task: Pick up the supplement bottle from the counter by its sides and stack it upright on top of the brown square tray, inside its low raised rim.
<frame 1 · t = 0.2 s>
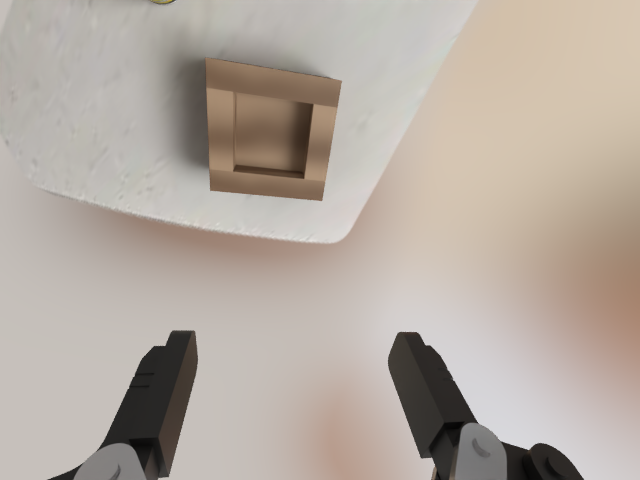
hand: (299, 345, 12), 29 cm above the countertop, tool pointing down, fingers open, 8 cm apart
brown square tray: (272, 127, 34), on the countertop
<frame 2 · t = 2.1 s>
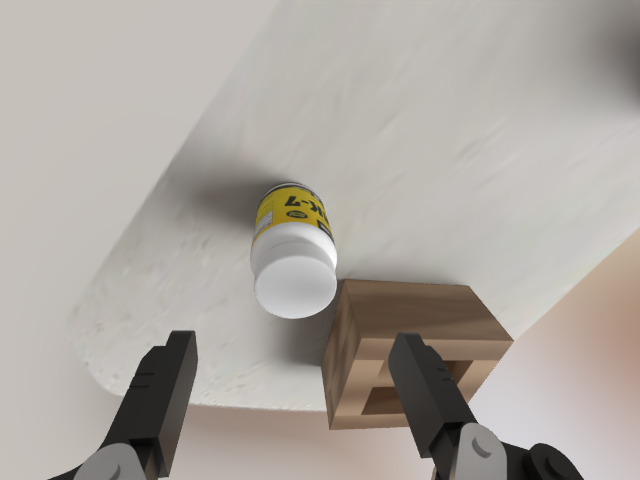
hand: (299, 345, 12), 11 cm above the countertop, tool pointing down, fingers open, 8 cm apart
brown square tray: (389, 327, 29), on the countertop
supplement bottle: (291, 211, 21), on the countertop
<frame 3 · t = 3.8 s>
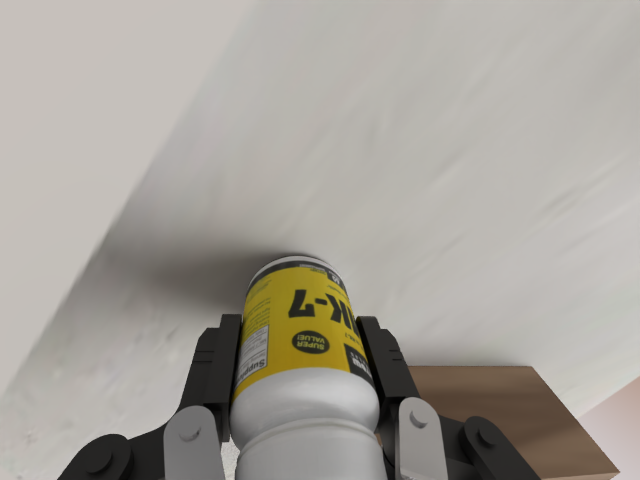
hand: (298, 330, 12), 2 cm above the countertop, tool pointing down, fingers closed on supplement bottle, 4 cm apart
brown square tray: (422, 413, 22), on the countertop
supplement bottle: (295, 289, 14), on the countertop, touching gripper
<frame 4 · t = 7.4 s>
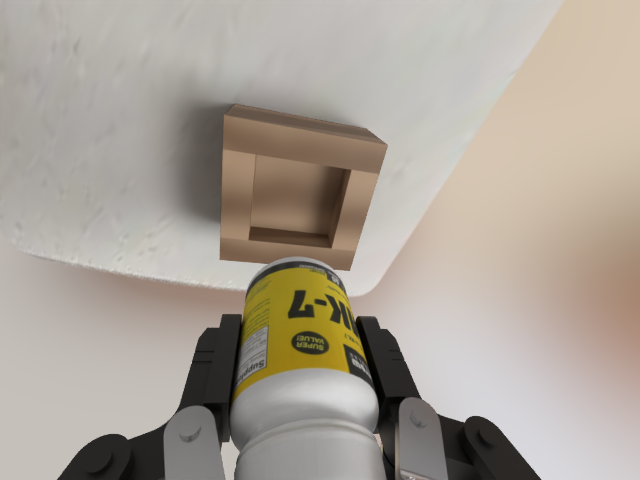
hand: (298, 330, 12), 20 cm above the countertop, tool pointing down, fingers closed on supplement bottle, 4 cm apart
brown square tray: (294, 179, 29), on the countertop
supplement bottle: (295, 290, 15), point 17 cm above the countertop, touching gripper
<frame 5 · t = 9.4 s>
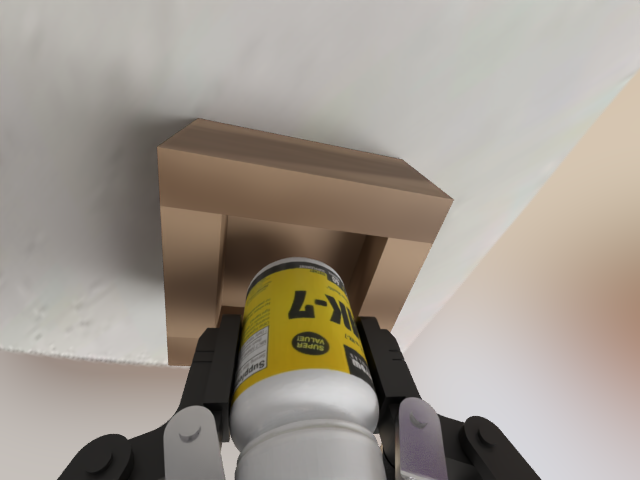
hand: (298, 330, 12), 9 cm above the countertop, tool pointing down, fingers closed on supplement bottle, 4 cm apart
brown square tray: (290, 228, 20), on the countertop
supplement bottle: (295, 290, 15), point 6 cm above the countertop, touching gripper
when the fingers open (7 cm above the countertop, at t = 11.3 s): supplement bottle stays where it is, resting on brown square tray.
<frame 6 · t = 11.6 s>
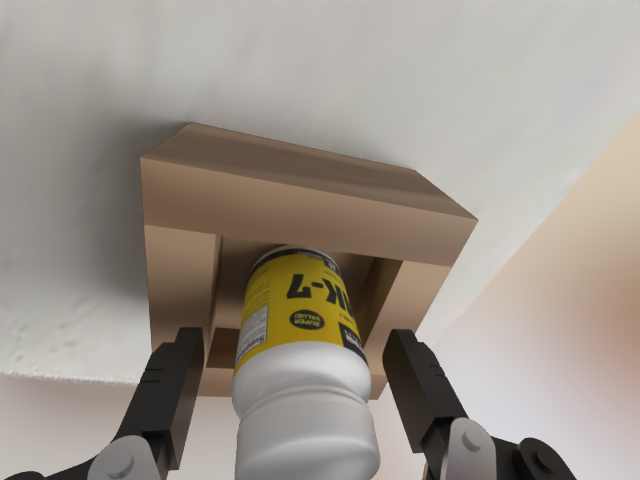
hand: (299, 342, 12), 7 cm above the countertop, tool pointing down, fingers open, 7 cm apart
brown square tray: (291, 241, 18), on the countertop, touching supplement bottle
supplement bottle: (294, 277, 15), point 3 cm above the countertop, touching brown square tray
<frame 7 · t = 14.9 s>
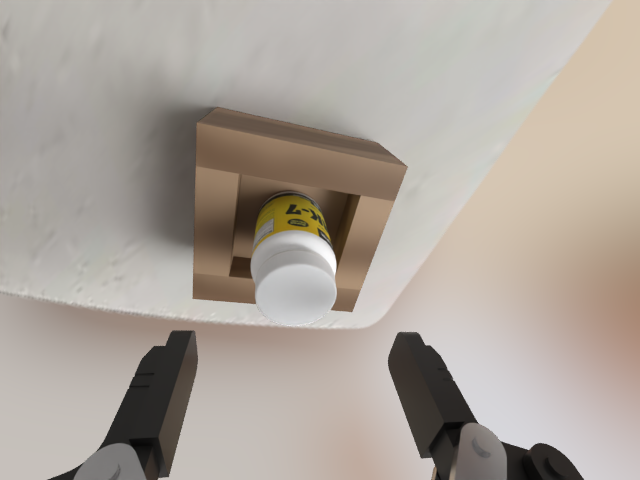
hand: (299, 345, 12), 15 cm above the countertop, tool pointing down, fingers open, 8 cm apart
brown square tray: (288, 198, 25), on the countertop, touching supplement bottle
supplement bottle: (290, 218, 21), point 3 cm above the countertop, touching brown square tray
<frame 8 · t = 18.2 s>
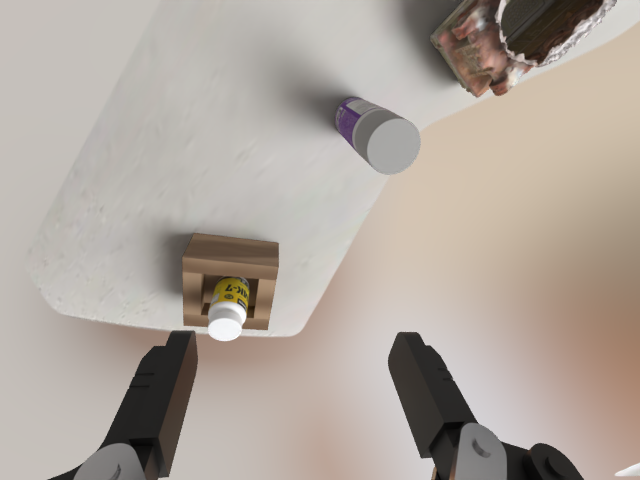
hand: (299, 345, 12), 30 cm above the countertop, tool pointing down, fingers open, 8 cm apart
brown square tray: (235, 269, 46), on the countertop, touching supplement bottle
container: (352, 117, 36), on the countertop
supplement bottle: (233, 285, 43), point 3 cm above the countertop, touching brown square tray
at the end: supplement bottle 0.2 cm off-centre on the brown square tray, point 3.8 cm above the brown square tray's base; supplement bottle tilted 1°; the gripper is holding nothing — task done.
